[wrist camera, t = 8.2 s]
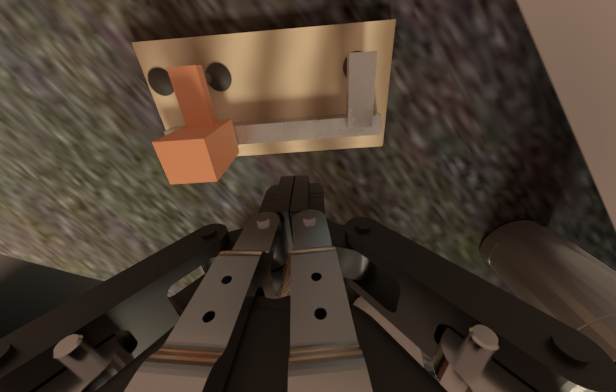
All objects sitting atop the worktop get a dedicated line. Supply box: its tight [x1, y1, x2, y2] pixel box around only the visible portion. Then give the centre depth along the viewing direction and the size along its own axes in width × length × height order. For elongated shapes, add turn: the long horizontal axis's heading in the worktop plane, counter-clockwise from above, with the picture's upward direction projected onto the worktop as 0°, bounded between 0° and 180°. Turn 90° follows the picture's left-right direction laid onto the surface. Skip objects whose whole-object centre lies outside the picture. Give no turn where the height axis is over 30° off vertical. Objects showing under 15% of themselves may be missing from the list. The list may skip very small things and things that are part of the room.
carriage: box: [152, 65, 239, 184], centre depth 20 cm, size 4×8×9 cm, turn 4°
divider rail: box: [164, 51, 382, 145], centre depth 23 cm, size 23×8×3 cm, turn 94°
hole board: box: [132, 19, 396, 156], centre depth 24 cm, size 25×12×1 cm, turn 94°
